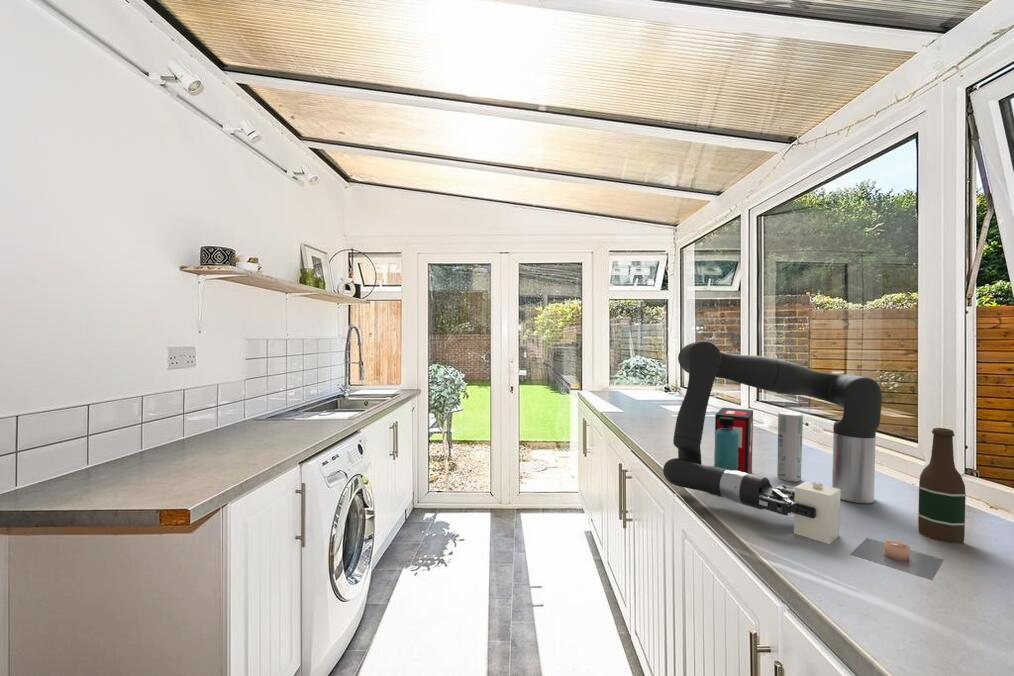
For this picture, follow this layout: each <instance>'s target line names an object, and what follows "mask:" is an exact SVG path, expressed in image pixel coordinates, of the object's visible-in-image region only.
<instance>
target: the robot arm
mask: <svg viewBox="0 0 1014 676" xmlns="http://www.w3.org/2000/svg"><path fill="white" fill-rule="evenodd" d="M677 360H678V364H679V366H680V367H681V368H682V370H683V371H685V372H686V373H688V383H687V387H686V391H685V395H684V397H683V400H682V403H681V405H680V407H679V410H678V414H677V416H676V421H675V426H674V433H673V439H672V440H673V441H672V442H673V443H672V444H673V445H674V446H675V448H677V450H678V451H677V458H676V457H675V458H671V459H669V460H667V461H666V462H665V463H664V465H663V468H662V472H663V476H664V478H665V479H666V481H667V482H668V483H670V484H672V485H673V486H677V487H681V488H685V489H691V490H695V491H700V492H704V493H708V494H710V495H713V496H715V497H719V498H723V499H726V500H729V501H731V502H733V503H737V504H740V505H744V506H747V507H751V508H754V509H758V510H762V511H763V510H766V511H769V512H773V513H776V514H779V515H783V516H789V515H794V514H798V515H802V516H805V517H809V518H812V519H813V518H815V517H816V509H815V508H814V507H811V506H807V505H803V504H799V503H795V487H796V486H790V485H786V484H781V485H780V486H776V487H773V485H772V484H771V481H770V480H769V478H768V477H766V476H762V475H758V474H753V473H752V474H749V473H745V472H741V471H735V470H728V469H724V468H719V467H715V466H714V465H703V464H702V454H701V453H702V451H701V444H702V439H703V432H704V425H705V421H706V415H707V409H708V406H709V400H710V396H711V392H712V390H713V386H714V383H715V380H716V378H719V379H723V380H724V379H725V380H729V381H732V382H736V383H739V384H742V385H746V386H748V387H753V388H756V389H760V390H764V391H768V392H772V393H778V394H782V395H789V396H790V395H791V396H806V397H810V398H811V397H812V398H815V399H818V400H821V401H825V402H828V403H830V404H834V405H836V406H839V407H841V408H843V413H842V418H841V419H840V420H837V421H835V422H834V423H833V427H832V430H833V434H832V468H831V469H832V473H831V476H832V477H831V487H833V488H837V489H841V493H840V500H842V501H847V502H851V503H857V504H873V503H874V502H875V479H876V478H875V477H876V474H875V473H876V439H877V431H878V429H879V427H880V423H881V415H882V405H883V394H882V389H881V387H880V385H879V384H878V382H877V381H875V380H874V379H873V378H870V377H867V376H861V375H853V374H840V373H839V374H838V373H829V372H822V371H817V370H813V369H810V368H808V367H806V366H804V365H800V364H798V363H795V362H791V361H789V360H784V359H779V358H776V357H770V356H762V355H753V354H752V355H751V354H737V353H735V354H734V353H728V352H724V351H720V348H719V347H718V345H716V344H715V343H713V342H712V341H709V340H699V341H695V342H691V343H688V344H687V345H685V346H683V348H681V350H680V351H679V353H678V356H677Z"/></svg>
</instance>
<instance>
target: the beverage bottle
mask: <svg viewBox="0 0 1014 676" xmlns="http://www.w3.org/2000/svg"><path fill="white" fill-rule="evenodd" d="M719 425H723V426H734V419H733V418H729V417H720V418H719ZM713 451H714V453H713V461H714V462H713V466H715V467H719V468H724V469H728V470H735V471H738V463H739V462H738V461H739V460H738V452H739V451H738V433H737V432H736V431H735V430H733V429H729V428H719V429H717V430H716V431H715V430H714V450H713Z"/></svg>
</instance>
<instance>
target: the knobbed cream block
mask: <svg viewBox="0 0 1014 676" xmlns="http://www.w3.org/2000/svg"><path fill="white" fill-rule="evenodd" d="M794 487H795V503H799V504H803V505H807V506H811V507H814V508H815V509H816V517H815V518H813V519H812V518H809V517H805V516H802V515H798V514H793V515H794V516H793V517H794V518H793V534H795V535H799V536H802V537H806V538H808V539H812V540H815V541H818V542H821V543H824V544H828V545H830V544H832V543H833V542H834V541H835V540H837V539H838V538H839V536H840V533H841V531H840V530H841V529H840V528H841V526H840V525H841V499H840V493H841V489H837V488H833V487H832V486H828V485H825V484H823V483H821V482H817V481H814V482H809V481H807V480H806V481H804V482H802V483H800V484H798V485H796V486H794Z"/></svg>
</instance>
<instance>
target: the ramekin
mask: <svg viewBox="0 0 1014 676" xmlns="http://www.w3.org/2000/svg"><path fill="white" fill-rule="evenodd" d="M883 542H884V555H885V556H887V557H888V558H891V559H894V560H897V561H903V562H907V561H909V555H910V550H911V549H910V546H909V545H908V544H906V543H904V542H901V541H896V540H891V539H887V540H884V541H883Z"/></svg>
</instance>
